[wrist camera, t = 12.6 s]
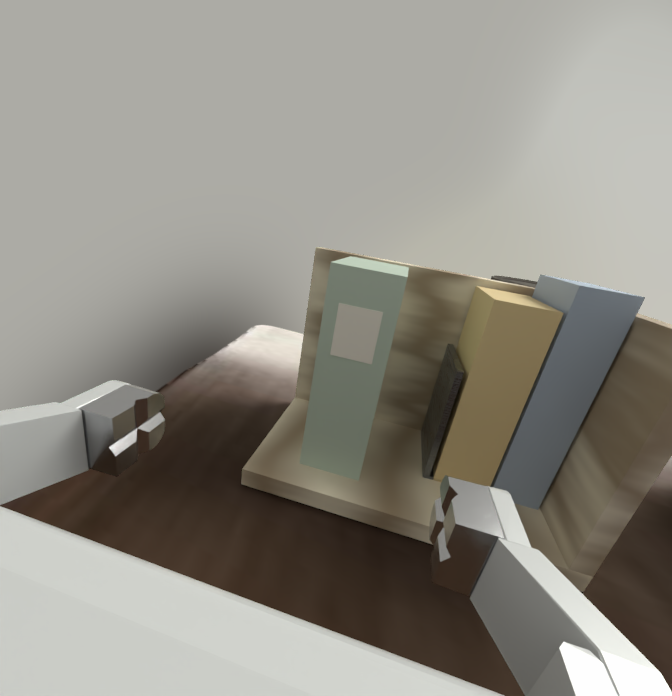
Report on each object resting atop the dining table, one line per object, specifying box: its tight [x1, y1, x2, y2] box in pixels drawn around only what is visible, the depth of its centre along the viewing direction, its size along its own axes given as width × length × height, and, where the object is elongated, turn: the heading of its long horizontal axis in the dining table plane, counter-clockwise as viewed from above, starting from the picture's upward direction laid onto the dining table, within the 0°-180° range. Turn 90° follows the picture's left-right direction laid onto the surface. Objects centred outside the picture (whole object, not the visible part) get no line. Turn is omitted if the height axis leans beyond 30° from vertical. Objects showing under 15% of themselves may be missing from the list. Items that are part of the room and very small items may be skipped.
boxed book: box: [299, 256, 409, 481], centre depth 22 cm, size 4×6×13 cm, turn 167°
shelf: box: [241, 247, 672, 592], centre depth 22 cm, size 20×11×14 cm, turn 77°
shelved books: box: [433, 275, 645, 510], centre depth 22 cm, size 7×6×14 cm
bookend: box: [421, 344, 464, 481], centre depth 23 cm, size 4×6×8 cm
